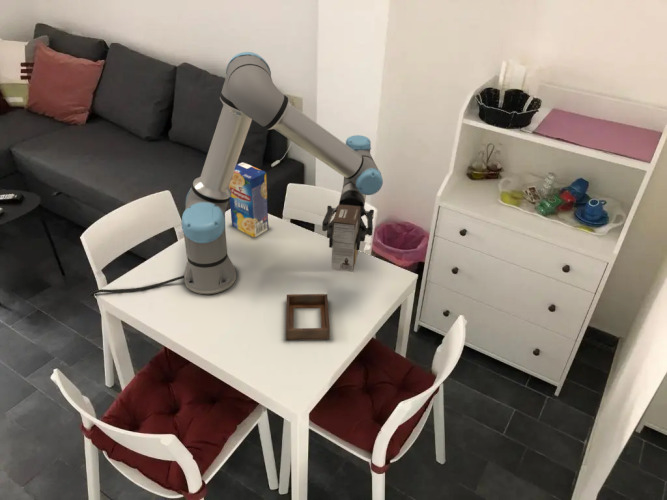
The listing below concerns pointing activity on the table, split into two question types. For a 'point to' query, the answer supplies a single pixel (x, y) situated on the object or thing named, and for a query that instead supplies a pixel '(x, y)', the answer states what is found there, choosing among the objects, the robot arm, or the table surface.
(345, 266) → the coffee box
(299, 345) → the table surface
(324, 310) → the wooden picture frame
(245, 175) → the beverage box
